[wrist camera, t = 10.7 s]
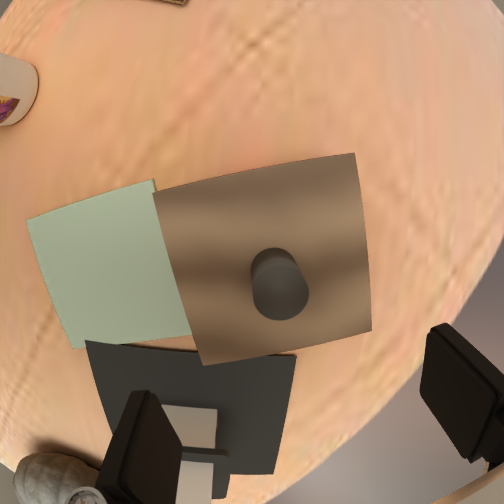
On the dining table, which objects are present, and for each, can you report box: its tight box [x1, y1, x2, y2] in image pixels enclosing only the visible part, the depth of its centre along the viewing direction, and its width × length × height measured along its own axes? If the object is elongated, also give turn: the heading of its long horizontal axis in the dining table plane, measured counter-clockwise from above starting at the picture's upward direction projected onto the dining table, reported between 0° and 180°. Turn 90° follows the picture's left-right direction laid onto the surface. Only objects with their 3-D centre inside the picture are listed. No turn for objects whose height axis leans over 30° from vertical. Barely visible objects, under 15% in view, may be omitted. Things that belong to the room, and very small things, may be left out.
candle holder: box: [84, 340, 297, 504], centre depth 28 cm, size 25×24×16 cm
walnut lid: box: [152, 153, 372, 366], centre depth 20 cm, size 14×14×5 cm
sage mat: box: [26, 179, 192, 348], centre depth 29 cm, size 16×16×1 cm
